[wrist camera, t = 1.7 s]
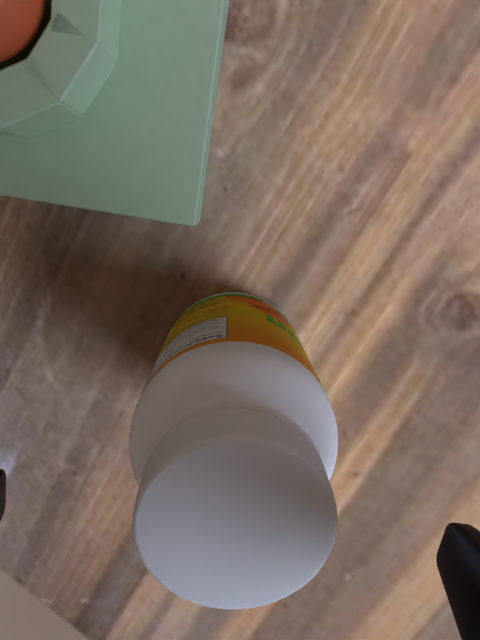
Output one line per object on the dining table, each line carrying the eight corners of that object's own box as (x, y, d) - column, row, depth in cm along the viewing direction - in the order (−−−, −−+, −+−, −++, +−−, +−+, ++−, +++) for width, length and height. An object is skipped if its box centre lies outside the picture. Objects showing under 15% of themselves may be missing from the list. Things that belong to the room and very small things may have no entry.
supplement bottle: (320, 375, 18) (422, 568, 9) (209, 434, 18) (191, 675, 9) (257, 263, 17) (294, 348, 7) (140, 331, 17) (34, 490, 8)
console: (200, 222, 16) (189, 230, 12) (-135, 167, 15) (-279, 155, 11) (243, -101, 13) (249, -244, 9) (-160, -188, 13) (-362, -389, 8)
